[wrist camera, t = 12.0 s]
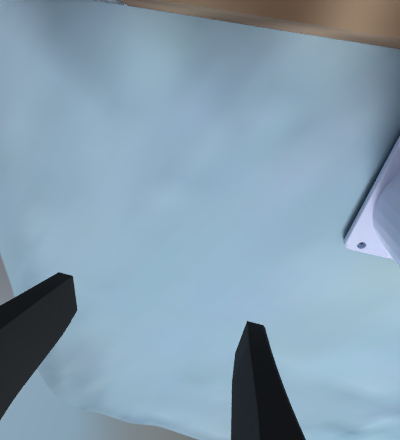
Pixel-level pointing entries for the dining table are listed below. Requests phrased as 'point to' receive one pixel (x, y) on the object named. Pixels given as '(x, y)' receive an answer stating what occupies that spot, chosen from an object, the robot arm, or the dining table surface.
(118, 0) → the box
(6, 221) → the dining table surface
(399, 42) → the board
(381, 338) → the dining table surface
